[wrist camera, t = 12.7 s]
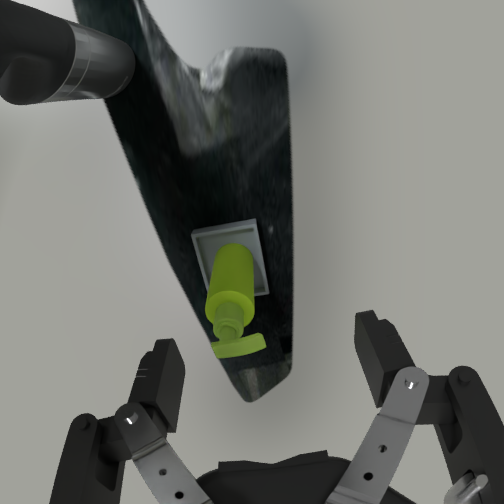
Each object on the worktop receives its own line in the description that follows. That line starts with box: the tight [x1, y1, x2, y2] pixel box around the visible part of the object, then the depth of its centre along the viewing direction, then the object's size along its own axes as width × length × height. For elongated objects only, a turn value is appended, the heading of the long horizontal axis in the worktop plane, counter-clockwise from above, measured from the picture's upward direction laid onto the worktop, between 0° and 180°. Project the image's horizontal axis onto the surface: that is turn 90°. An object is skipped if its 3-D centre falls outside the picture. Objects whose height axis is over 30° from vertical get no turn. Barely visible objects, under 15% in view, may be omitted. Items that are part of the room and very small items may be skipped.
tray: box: [191, 219, 269, 296], centre depth 49 cm, size 12×10×2 cm
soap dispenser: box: [205, 243, 266, 358], centre depth 41 cm, size 6×7×20 cm
